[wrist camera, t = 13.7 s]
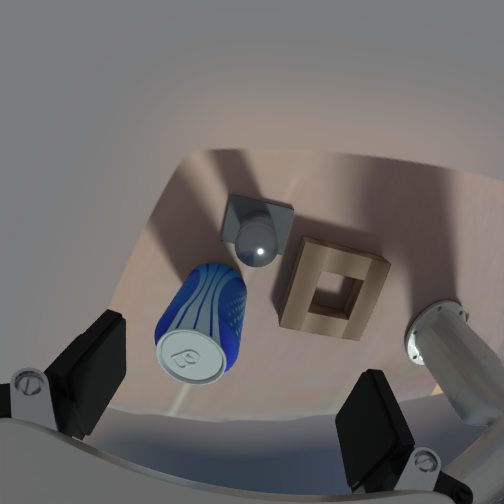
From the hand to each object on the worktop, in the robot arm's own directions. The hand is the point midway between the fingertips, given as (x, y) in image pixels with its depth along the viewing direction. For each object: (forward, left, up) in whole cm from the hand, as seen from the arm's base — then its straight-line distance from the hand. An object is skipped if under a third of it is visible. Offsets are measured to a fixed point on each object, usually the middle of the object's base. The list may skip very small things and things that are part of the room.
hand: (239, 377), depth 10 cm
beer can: (+3, +10, -28) cm, 30 cm away
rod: (0, 0, -27) cm, 27 cm away
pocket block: (-12, +6, -28) cm, 31 cm away
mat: (0, 0, -28) cm, 28 cm away
